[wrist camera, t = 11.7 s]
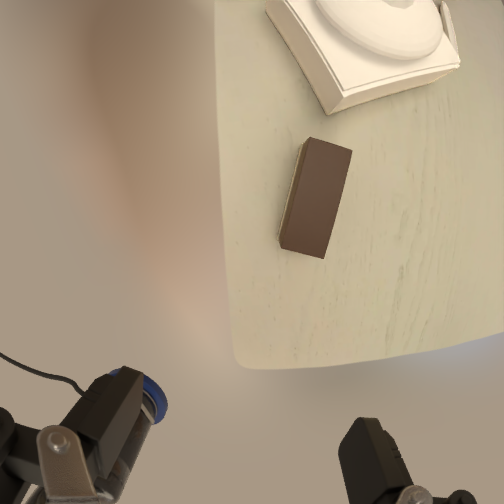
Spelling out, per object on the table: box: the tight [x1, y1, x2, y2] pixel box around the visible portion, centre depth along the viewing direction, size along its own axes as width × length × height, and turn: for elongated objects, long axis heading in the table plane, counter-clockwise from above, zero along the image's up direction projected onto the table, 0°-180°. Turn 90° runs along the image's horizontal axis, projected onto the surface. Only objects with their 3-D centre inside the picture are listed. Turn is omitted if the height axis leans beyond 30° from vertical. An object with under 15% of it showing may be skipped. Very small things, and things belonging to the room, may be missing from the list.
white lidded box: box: [266, 0, 461, 116], centre depth 22 cm, size 18×18×16 cm
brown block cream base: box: [277, 137, 352, 259], centre depth 32 cm, size 12×5×6 cm, turn 166°
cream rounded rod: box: [440, 0, 459, 57], centre depth 27 cm, size 2×14×2 cm, turn 176°
